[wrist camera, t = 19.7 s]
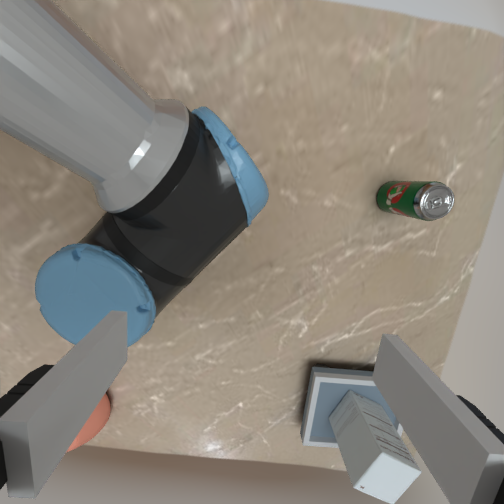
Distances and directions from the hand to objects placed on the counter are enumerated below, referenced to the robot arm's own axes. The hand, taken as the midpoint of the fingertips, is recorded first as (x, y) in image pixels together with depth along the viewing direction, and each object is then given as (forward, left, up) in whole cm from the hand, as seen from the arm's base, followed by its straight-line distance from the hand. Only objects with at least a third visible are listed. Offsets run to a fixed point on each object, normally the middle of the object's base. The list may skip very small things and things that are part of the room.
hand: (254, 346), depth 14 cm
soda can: (+23, +8, -35) cm, 43 cm away
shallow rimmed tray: (+23, -31, -35) cm, 52 cm away
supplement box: (+23, -31, -30) cm, 49 cm away
